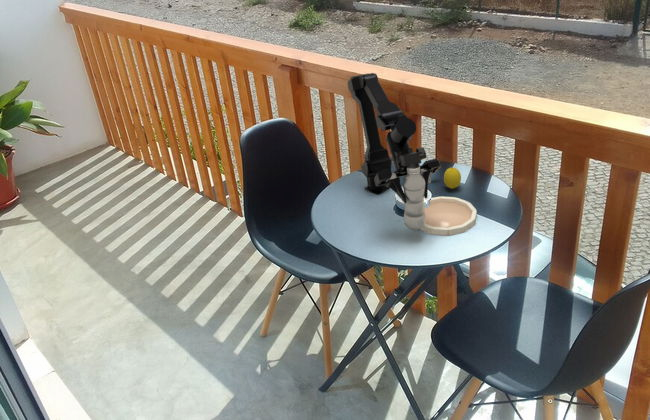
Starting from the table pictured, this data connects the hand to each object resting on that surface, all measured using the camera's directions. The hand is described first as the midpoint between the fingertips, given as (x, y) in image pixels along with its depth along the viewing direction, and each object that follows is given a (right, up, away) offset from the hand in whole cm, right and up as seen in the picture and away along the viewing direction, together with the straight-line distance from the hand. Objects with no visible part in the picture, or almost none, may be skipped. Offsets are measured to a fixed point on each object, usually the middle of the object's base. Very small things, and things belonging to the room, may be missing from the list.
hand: (416, 200), depth 168 cm
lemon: (+17, +4, +30) cm, 34 cm away
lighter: (+10, +7, +35) cm, 37 cm away
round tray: (+11, -5, +15) cm, 19 cm away
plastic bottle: (+1, -8, +6) cm, 10 cm away
